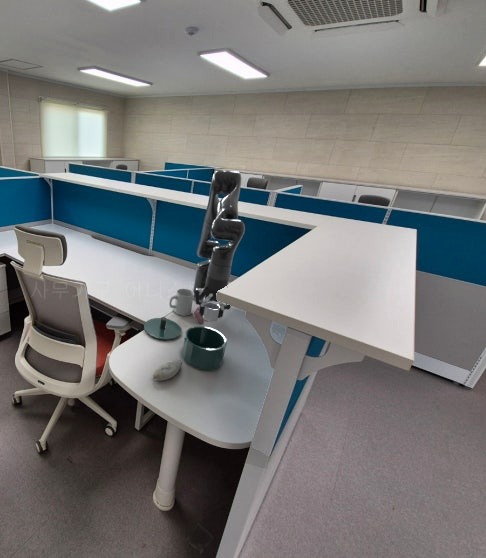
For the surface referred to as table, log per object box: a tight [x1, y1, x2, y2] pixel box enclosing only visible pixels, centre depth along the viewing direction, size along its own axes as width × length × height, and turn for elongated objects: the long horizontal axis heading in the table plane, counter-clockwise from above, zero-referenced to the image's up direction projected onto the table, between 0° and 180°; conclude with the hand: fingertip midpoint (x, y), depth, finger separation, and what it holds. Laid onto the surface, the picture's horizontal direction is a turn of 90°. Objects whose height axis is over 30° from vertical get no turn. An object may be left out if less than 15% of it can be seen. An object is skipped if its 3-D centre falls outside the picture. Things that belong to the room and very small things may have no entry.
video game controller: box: [193, 305, 205, 325], centre depth 147 cm, size 10×5×7 cm, turn 141°
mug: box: [168, 288, 194, 317], centre depth 151 cm, size 12×8×11 cm
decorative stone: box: [152, 359, 183, 382], centre depth 111 cm, size 6×16×3 cm, turn 133°
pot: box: [181, 325, 228, 371], centre depth 119 cm, size 16×16×10 cm
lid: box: [143, 316, 182, 341], centre depth 137 cm, size 17×17×6 cm
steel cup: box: [201, 301, 220, 322], centre depth 113 cm, size 6×6×5 cm
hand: (210, 315), depth 114 cm, fingers closed on steel cup, 5 cm apart
